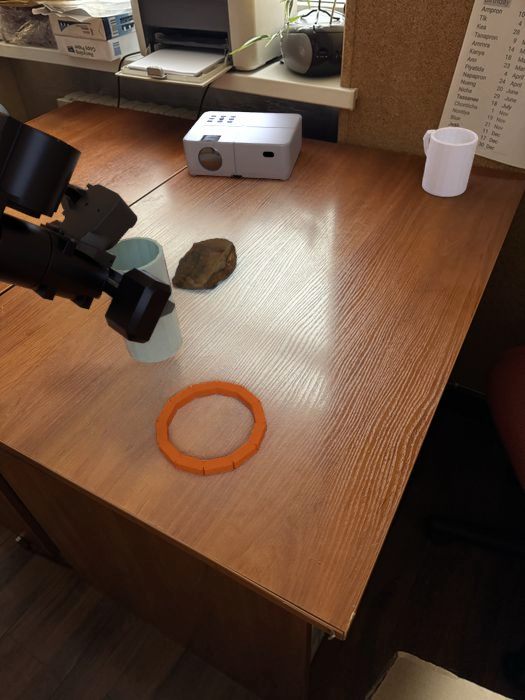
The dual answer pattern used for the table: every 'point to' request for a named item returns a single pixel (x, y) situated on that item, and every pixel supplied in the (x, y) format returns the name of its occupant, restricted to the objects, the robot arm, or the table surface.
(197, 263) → the decorative stone
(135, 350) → the cup
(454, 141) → the mug
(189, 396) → the ring
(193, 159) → the projector
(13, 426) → the table surface
